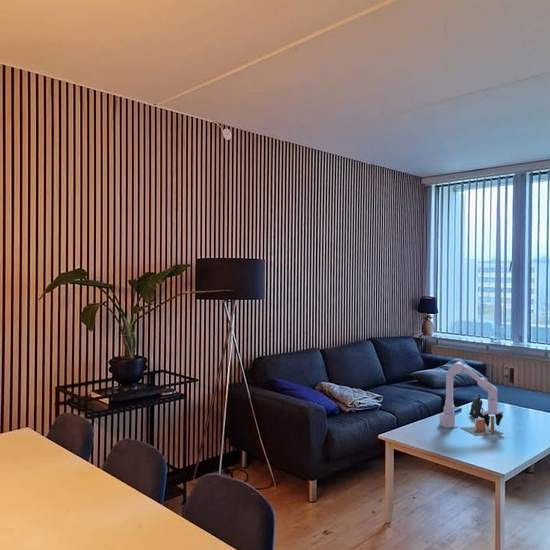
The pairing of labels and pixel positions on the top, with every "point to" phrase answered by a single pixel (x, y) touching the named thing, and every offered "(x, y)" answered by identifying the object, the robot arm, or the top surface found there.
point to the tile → (480, 424)
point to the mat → (480, 431)
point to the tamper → (492, 425)
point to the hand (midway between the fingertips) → (492, 425)
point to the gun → (476, 408)
